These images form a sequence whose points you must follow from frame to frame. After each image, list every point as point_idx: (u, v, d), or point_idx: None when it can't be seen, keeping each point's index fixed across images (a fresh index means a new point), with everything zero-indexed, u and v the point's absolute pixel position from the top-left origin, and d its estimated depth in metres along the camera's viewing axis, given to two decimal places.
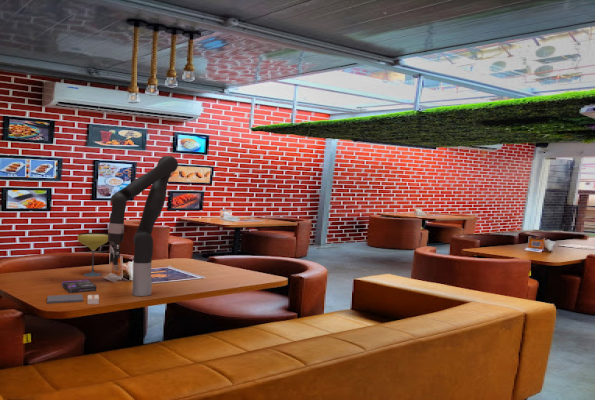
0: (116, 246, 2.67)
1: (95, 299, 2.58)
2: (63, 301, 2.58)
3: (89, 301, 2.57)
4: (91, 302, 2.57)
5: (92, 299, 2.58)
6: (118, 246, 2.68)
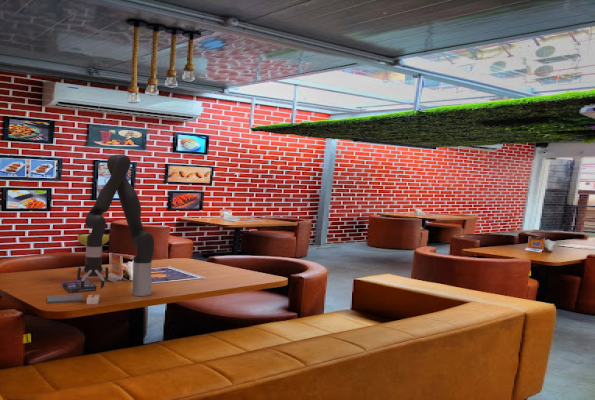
0: None
1: (93, 299, 2.58)
2: (63, 301, 2.58)
3: (88, 301, 2.57)
4: (90, 302, 2.57)
5: (91, 299, 2.57)
6: (107, 268, 2.64)
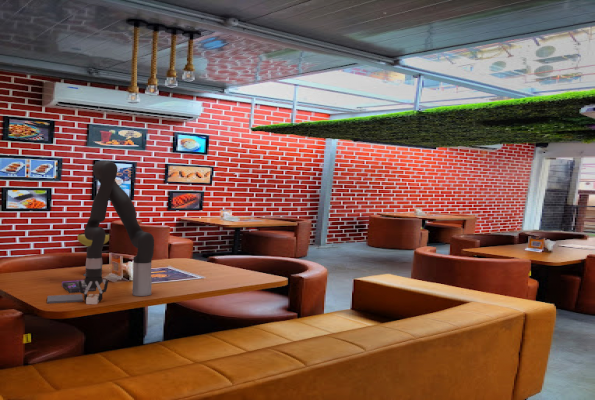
0: None
1: (93, 298, 2.57)
2: (63, 301, 2.58)
3: (87, 300, 2.57)
4: (89, 301, 2.57)
5: (90, 298, 2.57)
6: None
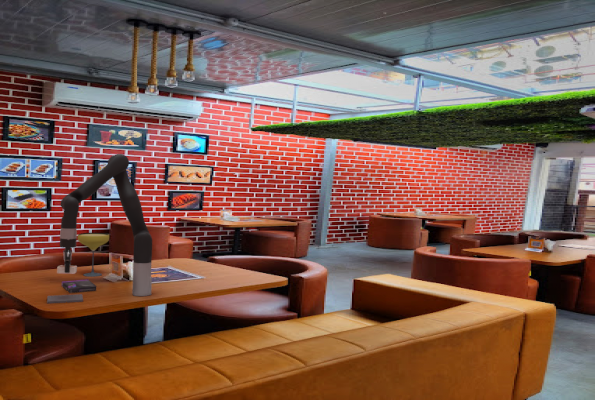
0: None
1: (76, 267, 2.64)
2: (63, 301, 2.58)
3: (75, 269, 2.62)
4: (75, 270, 2.62)
5: (75, 267, 2.63)
6: None
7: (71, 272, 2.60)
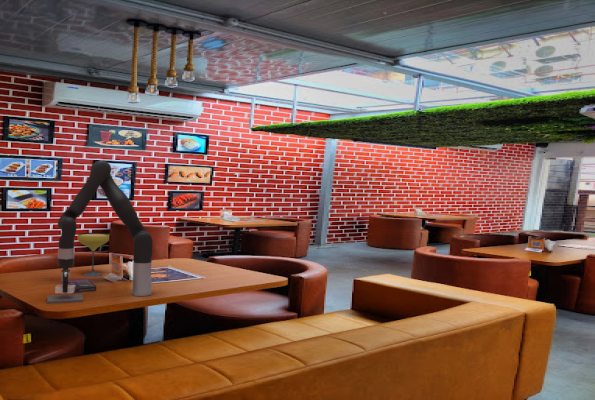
0: None
1: (74, 286, 2.65)
2: (63, 301, 2.58)
3: (72, 289, 2.62)
4: (73, 290, 2.63)
5: (73, 287, 2.64)
6: None
7: (69, 292, 2.62)
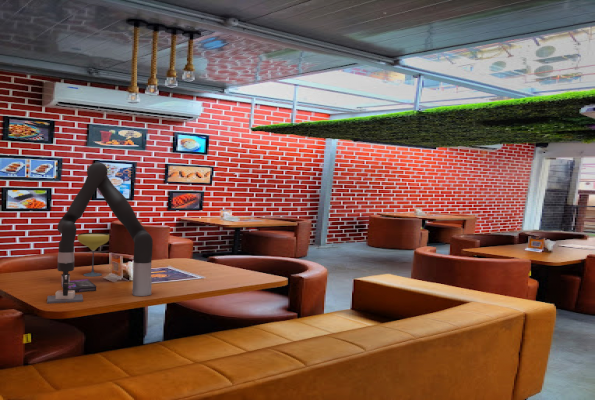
0: None
1: (74, 292, 2.65)
2: (63, 301, 2.58)
3: (73, 295, 2.63)
4: (73, 295, 2.64)
5: (73, 292, 2.64)
6: None
7: (69, 297, 2.62)
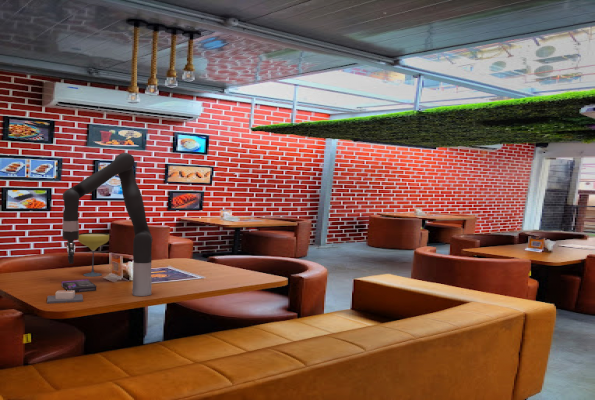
0: None
1: (74, 292, 2.65)
2: (63, 301, 2.58)
3: (73, 295, 2.63)
4: (73, 295, 2.64)
5: (73, 292, 2.64)
6: None
7: (69, 297, 2.62)
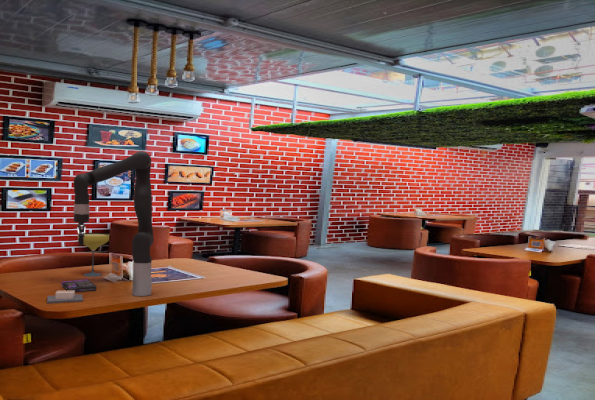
0: None
1: (74, 292, 2.65)
2: (63, 301, 2.58)
3: (73, 295, 2.63)
4: (73, 295, 2.64)
5: (73, 292, 2.64)
6: None
7: (69, 297, 2.62)
